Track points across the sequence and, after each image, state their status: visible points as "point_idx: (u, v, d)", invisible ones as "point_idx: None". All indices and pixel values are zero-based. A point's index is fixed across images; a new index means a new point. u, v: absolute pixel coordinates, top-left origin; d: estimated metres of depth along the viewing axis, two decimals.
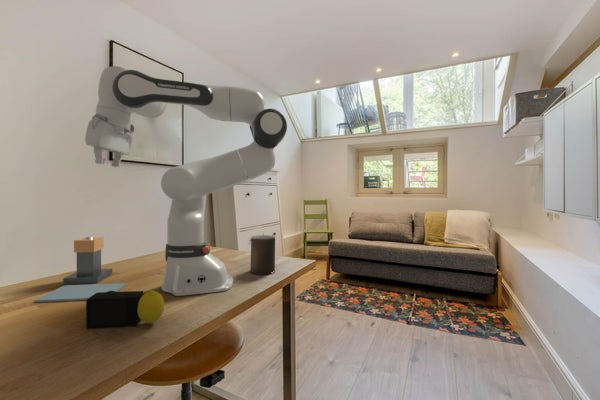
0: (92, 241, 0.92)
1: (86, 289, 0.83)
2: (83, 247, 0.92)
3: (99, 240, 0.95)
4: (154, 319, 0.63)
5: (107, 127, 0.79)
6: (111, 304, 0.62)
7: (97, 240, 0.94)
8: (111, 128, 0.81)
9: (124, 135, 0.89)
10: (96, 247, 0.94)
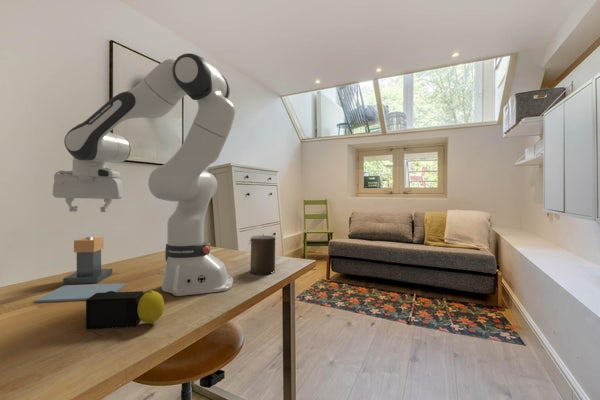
0: (92, 241, 0.92)
1: (86, 289, 0.83)
2: (83, 247, 0.92)
3: (99, 240, 0.95)
4: (154, 319, 0.63)
5: (64, 179, 0.91)
6: (111, 304, 0.62)
7: (97, 240, 0.94)
8: (71, 179, 0.91)
9: (98, 181, 0.92)
10: (96, 247, 0.94)
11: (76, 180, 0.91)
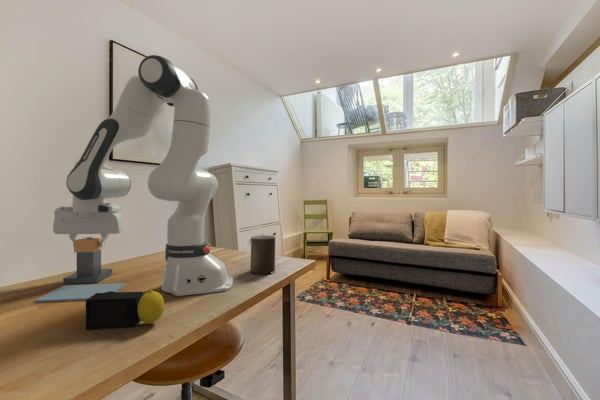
0: (92, 241, 0.92)
1: (86, 289, 0.83)
2: (83, 247, 0.92)
3: (99, 240, 0.95)
4: (154, 319, 0.63)
5: (64, 216, 0.91)
6: (111, 305, 0.62)
7: (97, 240, 0.94)
8: (72, 215, 0.92)
9: (98, 216, 0.93)
10: (96, 247, 0.94)
11: (76, 216, 0.92)
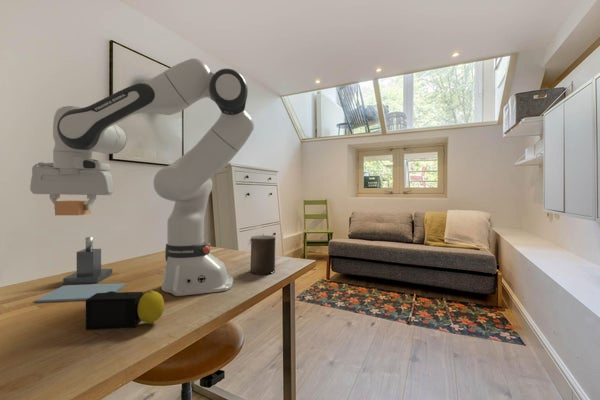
0: (76, 202, 0.78)
1: (86, 289, 0.83)
2: (66, 209, 0.78)
3: (85, 203, 0.82)
4: (154, 319, 0.63)
5: (43, 173, 0.78)
6: (110, 305, 0.62)
7: (83, 202, 0.81)
8: (52, 172, 0.78)
9: (83, 174, 0.79)
10: (81, 210, 0.80)
11: (58, 173, 0.78)
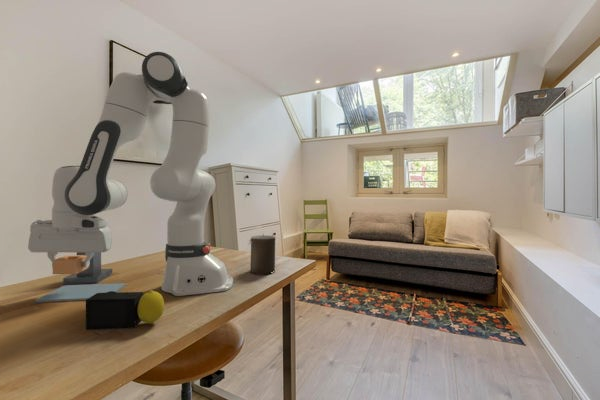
0: (74, 261, 0.79)
1: (86, 289, 0.83)
2: (64, 268, 0.78)
3: (83, 259, 0.82)
4: (154, 319, 0.63)
5: (42, 231, 0.78)
6: (110, 305, 0.61)
7: (81, 259, 0.81)
8: (51, 231, 0.78)
9: (82, 232, 0.79)
10: (79, 268, 0.80)
11: (56, 232, 0.78)
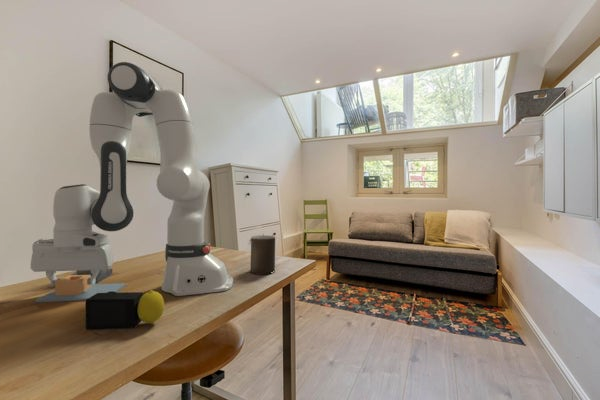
0: (77, 282, 0.79)
1: None
2: (66, 289, 0.79)
3: (85, 279, 0.83)
4: (154, 319, 0.63)
5: (43, 251, 0.78)
6: (110, 305, 0.61)
7: (83, 280, 0.81)
8: (53, 250, 0.79)
9: (83, 251, 0.80)
10: (82, 288, 0.81)
11: (58, 251, 0.79)
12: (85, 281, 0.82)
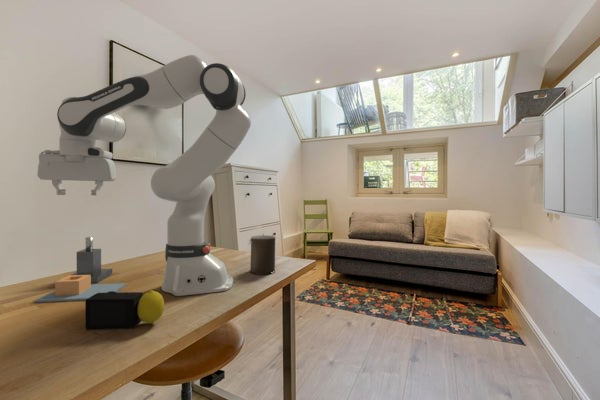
0: (77, 282, 0.79)
1: None
2: (66, 289, 0.79)
3: (85, 279, 0.83)
4: (154, 319, 0.63)
5: (50, 159, 0.83)
6: (110, 305, 0.61)
7: (83, 280, 0.81)
8: (58, 159, 0.83)
9: (88, 161, 0.85)
10: (82, 288, 0.81)
11: (64, 160, 0.84)
12: (85, 281, 0.82)
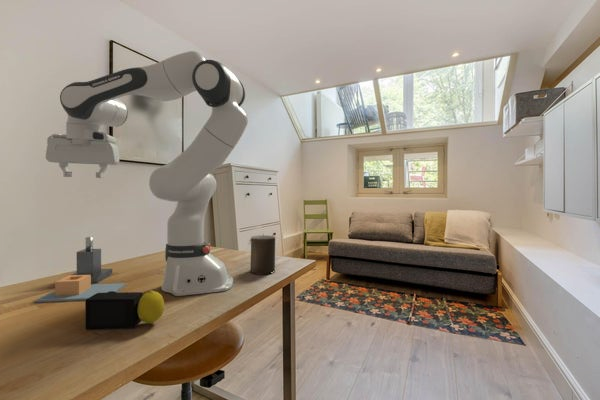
0: (77, 282, 0.79)
1: None
2: (66, 289, 0.79)
3: (85, 279, 0.83)
4: (154, 319, 0.63)
5: (57, 143, 0.88)
6: (109, 305, 0.61)
7: (83, 280, 0.81)
8: (65, 142, 0.88)
9: (93, 145, 0.89)
10: (82, 288, 0.81)
11: (70, 143, 0.88)
12: (85, 281, 0.82)
